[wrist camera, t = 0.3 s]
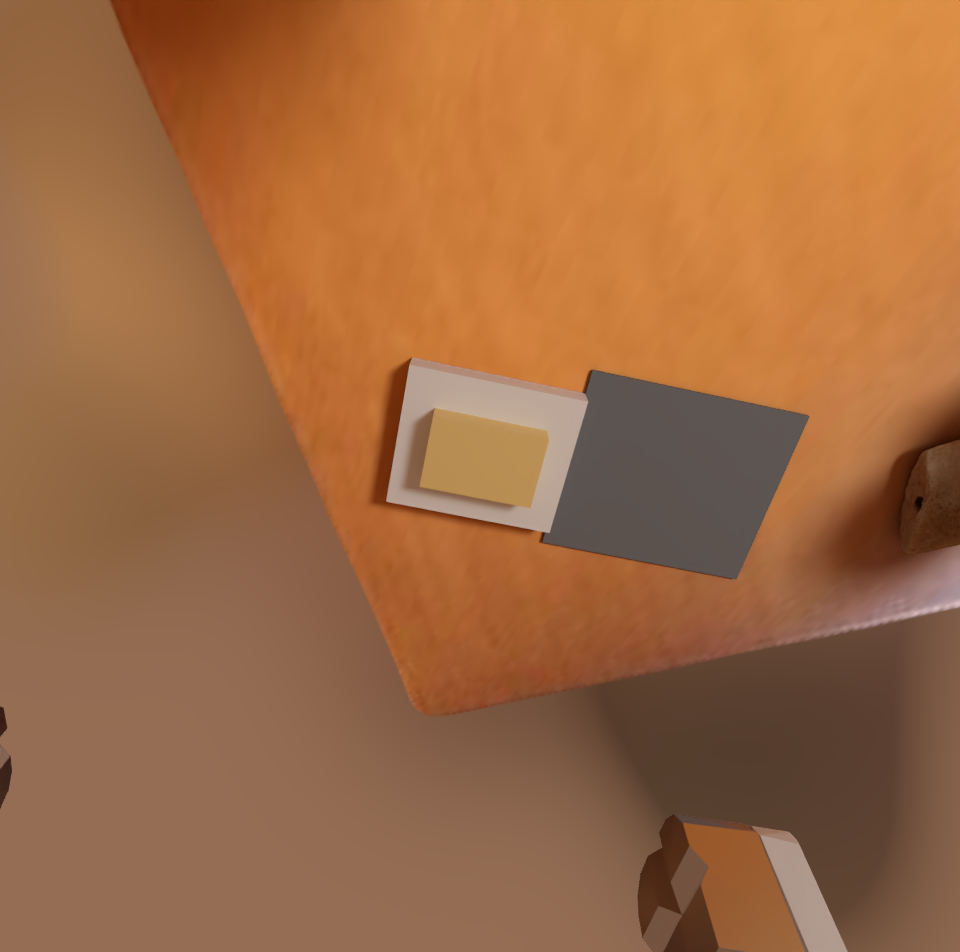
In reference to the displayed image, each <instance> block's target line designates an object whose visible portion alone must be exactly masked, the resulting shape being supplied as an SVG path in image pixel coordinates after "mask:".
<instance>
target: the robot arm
mask: <svg viewBox="0 0 960 952" xmlns="http://www.w3.org/2000/svg"><path fill="white" fill-rule="evenodd" d="M6 729H7V724H6V718H5V713H4V708H3V707H0V736H1V735H2V734H3V733H4V732H5V731H6ZM11 774H12V767H11V756H10V755H9V754H8V753H7V751H6V750H5V749H4V748H3V747H2V746H1V745H0V808H1V806H2V803H3V801H4V799H5V796H6V794H7V792H8V790H9V785H10V779H11ZM659 835H660V839H661V843H662V848H661V849H659V850H657V851H656V852H654V853H652V854H651V855H649V856H648V857H647V859H646V862H645V864H644V867H643V869H642V871H641V873H640V881H639V889H638V914H639V921H640V926H641V933H642V938H643V939H644V941H645V942H646V943H647V945H648V946H649V947H650V948H651V950H652V951H653V952H847V950H846V947H845V945H844V943H843V941H842V938H841V936H840V934H839V932H838V930H837V928H836V925H835V923H834V921H833V919H832V916H831V914H830V912H829V910H828V907H827V905H826V903H825V901H824V899H823V896H822V894H821V892H820V890H819V887H818V886H817V883H816V881H815V879H814V876H813V874H812V872H811V870H810V868H809V866H808V863H807V861H806V859H805V857H804V854H803V852H802V850H801V848H800V845H799V843H798V841H797V840H796V839H795V838H794V837H793V836H792V835H791V834H790V833H789V832H785V831H778V830H773V829H766V828H760V827H754V826H746V825H745V824H739V823H732V822H726V821H719V820H712V819H705V818H699V817H692V816H685V815H679V814H672V815H671V816H669V817H668V818H667V819H666V820H665V822H664V823H663V825H662V828H661V829H660V831H659Z"/></svg>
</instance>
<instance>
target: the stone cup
mask: <svg viewBox="0 0 960 952" xmlns="http://www.w3.org/2000/svg"><path fill="white" fill-rule="evenodd" d="M900 535H901V548H902V550H903V552H904V553H906V554H909V555H913V554H917V553H921V552H927V551H932V550H937V549H941V548H946V547H951V546H956V545H960V440H957V441H953V442H950V443H946V444H943V445H939V446H936V447H933V448H930V449H928V450H925V451H923V452H922V454H921V455H920V456H919V459H918V461H917V463H916V465H915V466H914V468H913V470H912V472H911V476H910V478H909V480H908V486H907V487H906V489H905V499H904V502H903V505H902V511H901V525H900Z"/></svg>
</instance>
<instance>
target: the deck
mask: <svg viewBox="0 0 960 952" xmlns="http://www.w3.org/2000/svg"><path fill="white" fill-rule="evenodd" d="M587 404H588V400H587V397H586V394H585V393H581V392H576V391H571V390H567V389H562V388H557V387H552V386H548V385H543V384H538V383H533V382H528V381H524V380H519V379H514V378H509V377H504V376H500V375H495V374H490V373H485V372H480V371H476V370H471V369H466V368H461V367H456V366H452V365H447V364H442V363H437V362H432V361H428V360H423V359H418V358H413V357H412V359H411V362H410V365H409V370H408V376H407V382H406V388H405V394H404V400H403V405H402V411H401V417H400V423H399V429H398V435H397V440H396V446H395V452H394V458H393V464H392V470H391V476H390V481H389V487H388V493H387V499H386V502H390V503H395V504H401V505H406V506H411V507H416V508H422V509H427V510H432V511H437V512H442V513H448V514H453V515H458V516H463V517H468V518H474V519H479V520H484V521H489V522H495V523H500V524H505V525H510V526H515V527H521V528H526V529H531V530H536V531H541V532H547V533H550V530H551V526H552V523H553V519H554V516H555V513H556V509H557V506H558V503H559V499H560V496H561V492H562V489H563V486H564V482H565V479H566V475H567V472H568V469H569V465H570V462H571V459H572V455H573V452H574V448H575V445H576V442H577V438H578V435H579V431H580V428H581V425H582V421H583V418H584V415H585V411H586V408H587ZM435 408H438V409H443V410H448V411H453V412H458V413H463V414H468V415H473V416H478V417H482V418H487V419H492V420H497V421H502V422H507V423H512V424H517V425H522V426H527V427H532V428H537V429H541V430H546V431H547V432H548V437H549V443H548V446H547V450H546V454H545V457H544V461H543V464H542V468H541V472H540V475H539V479H538V483H537V486H536V490H535V493H534V497H533V501H532V504H531V508H527V507H521V506H516V505H511V504H506V503H501V502H496V501H491V500H485V499H480V498H475V497H470V496H465V495H460V494H454V493H449V492H444V491H439V490H434V489H429V488H424V487H419V486H420V481H421V476H422V471H423V466H424V461H425V455H426V450H427V445H428V440H429V435H430V429H431V424H432V419H433V414H434V410H435Z"/></svg>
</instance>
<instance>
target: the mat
mask: <svg viewBox="0 0 960 952" xmlns="http://www.w3.org/2000/svg"><path fill="white" fill-rule="evenodd" d="M585 394H586V397H587V400H588V404H587V408H586V411H585V415H584V418H583V421H582V425H581V428H580V431H579V435H578V438H577V442H576V445H575V448H574V452H573V455H572V459H571V462H570V465H569V469H568V472H567V475H566V479H565V482H564V486H563V489H562V492H561V496H560V499H559V503H558V506H557V509H556V513H555V516H554V519H553V523H552V526H551V530H550V533H547V532H545V533H544V536H543V539H542V542H543V543H548V544H553V545H559V546H564V547H569V548H574V549H580V550H585V551H590V552H595V553H601V554H606V555H611V556H616V557H622V558H627V559H632V560H637V561H643V562H648V563H653V564H658V565H664V566H669V567H674V568H679V569H685V570H690V571H695V572H700V573H706V574H711V575H716V576H721V577H727V578H732V579H737V577H738V575H739V572H740V570H741V568H742V566H743V563H744V561H745V559H746V557H747V554H748V552H749V550H750V548H751V546H752V543H753V541H754V539H755V537H756V534H757V532H758V530H759V528H760V526H761V523H762V521H763V519H764V517H765V514H766V512H767V510H768V508H769V505H770V503H771V501H772V499H773V497H774V494H775V492H776V490H777V488H778V485H779V483H780V481H781V479H782V476H783V474H784V472H785V470H786V468H787V465H788V463H789V461H790V459H791V456H792V454H793V452H794V450H795V447H796V445H797V443H798V441H799V439H800V436H801V434H802V432H803V430H804V427H805V425H806V423H807V421H808V418H809V416H808V415H804V414H800V413H795V412H790V411H785V410H781V409H776V408H771V407H766V406H762V405H757V404H752V403H747V402H743V401H738V400H733V399H729V398H724V397H719V396H714V395H710V394H705V393H700V392H695V391H691V390H686V389H681V388H677V387H672V386H667V385H662V384H658V383H653V382H648V381H643V380H639V379H634V378H629V377H625V376H620V375H615V374H610V373H606V372H601V371H596V370H592V371H591V375H590V378H589V382H588V385H587V389H586V392H585Z"/></svg>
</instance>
